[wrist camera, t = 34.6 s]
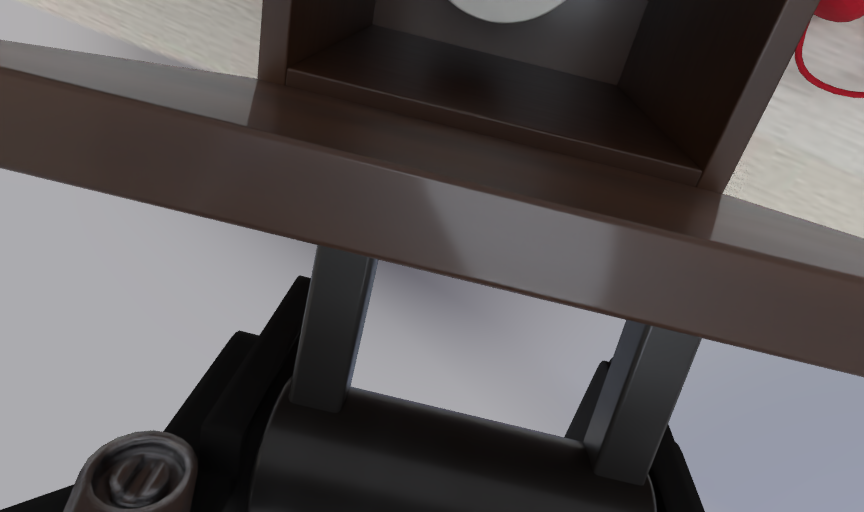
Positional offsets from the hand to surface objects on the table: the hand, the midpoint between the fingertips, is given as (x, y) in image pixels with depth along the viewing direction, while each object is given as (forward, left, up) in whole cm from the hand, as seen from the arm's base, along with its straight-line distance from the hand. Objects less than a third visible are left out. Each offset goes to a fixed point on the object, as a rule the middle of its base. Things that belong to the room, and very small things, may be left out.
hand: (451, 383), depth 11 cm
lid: (0, +4, -1) cm, 5 cm away
